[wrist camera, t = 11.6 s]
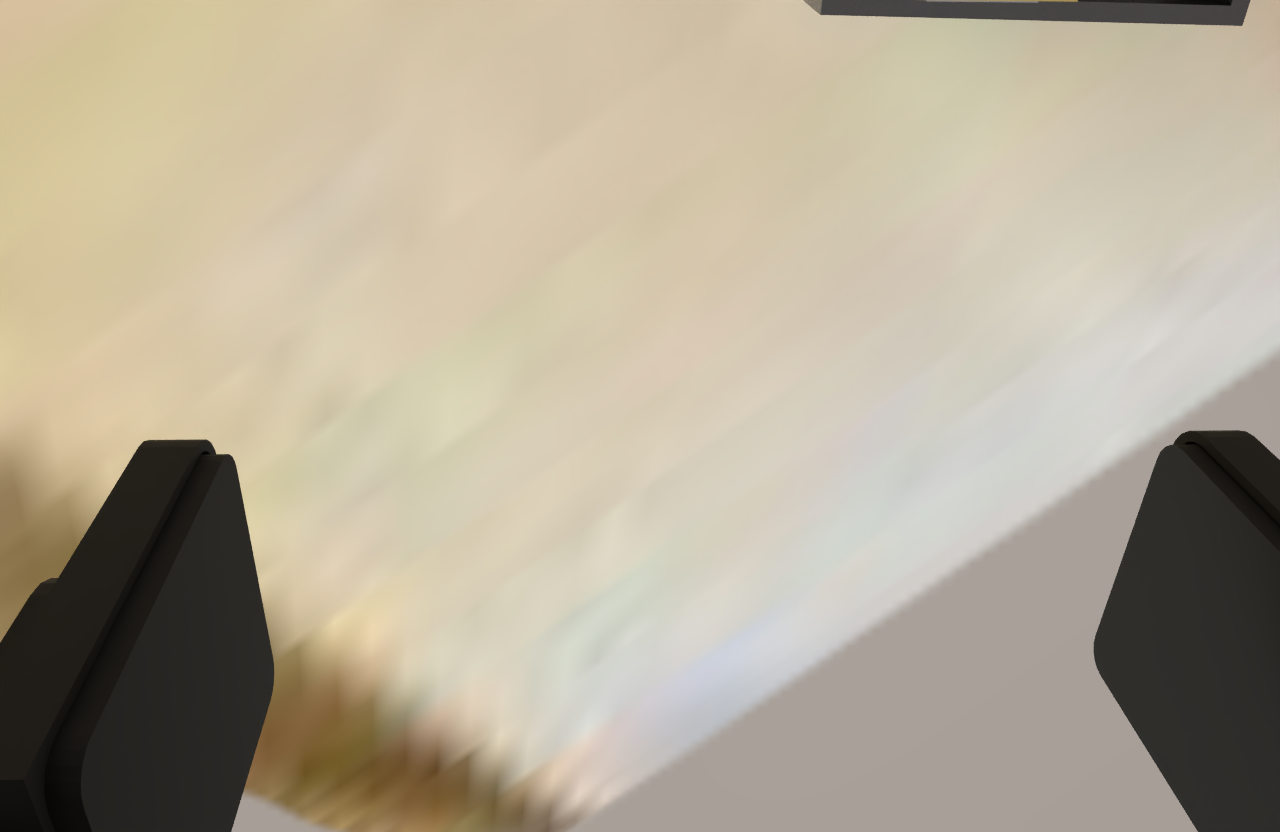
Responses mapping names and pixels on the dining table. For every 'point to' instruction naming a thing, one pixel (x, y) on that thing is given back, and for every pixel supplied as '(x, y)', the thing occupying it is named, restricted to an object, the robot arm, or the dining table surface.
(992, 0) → the gold block
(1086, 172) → the dining table surface
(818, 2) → the tray
